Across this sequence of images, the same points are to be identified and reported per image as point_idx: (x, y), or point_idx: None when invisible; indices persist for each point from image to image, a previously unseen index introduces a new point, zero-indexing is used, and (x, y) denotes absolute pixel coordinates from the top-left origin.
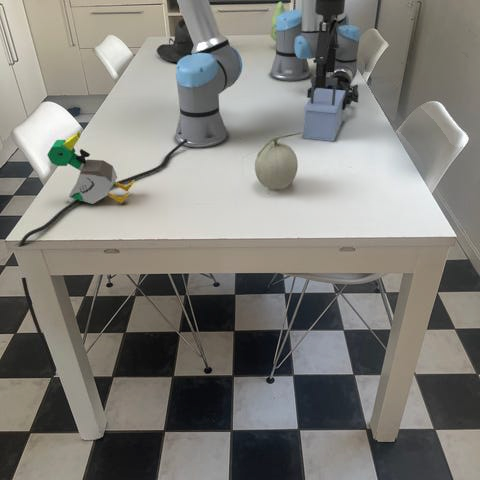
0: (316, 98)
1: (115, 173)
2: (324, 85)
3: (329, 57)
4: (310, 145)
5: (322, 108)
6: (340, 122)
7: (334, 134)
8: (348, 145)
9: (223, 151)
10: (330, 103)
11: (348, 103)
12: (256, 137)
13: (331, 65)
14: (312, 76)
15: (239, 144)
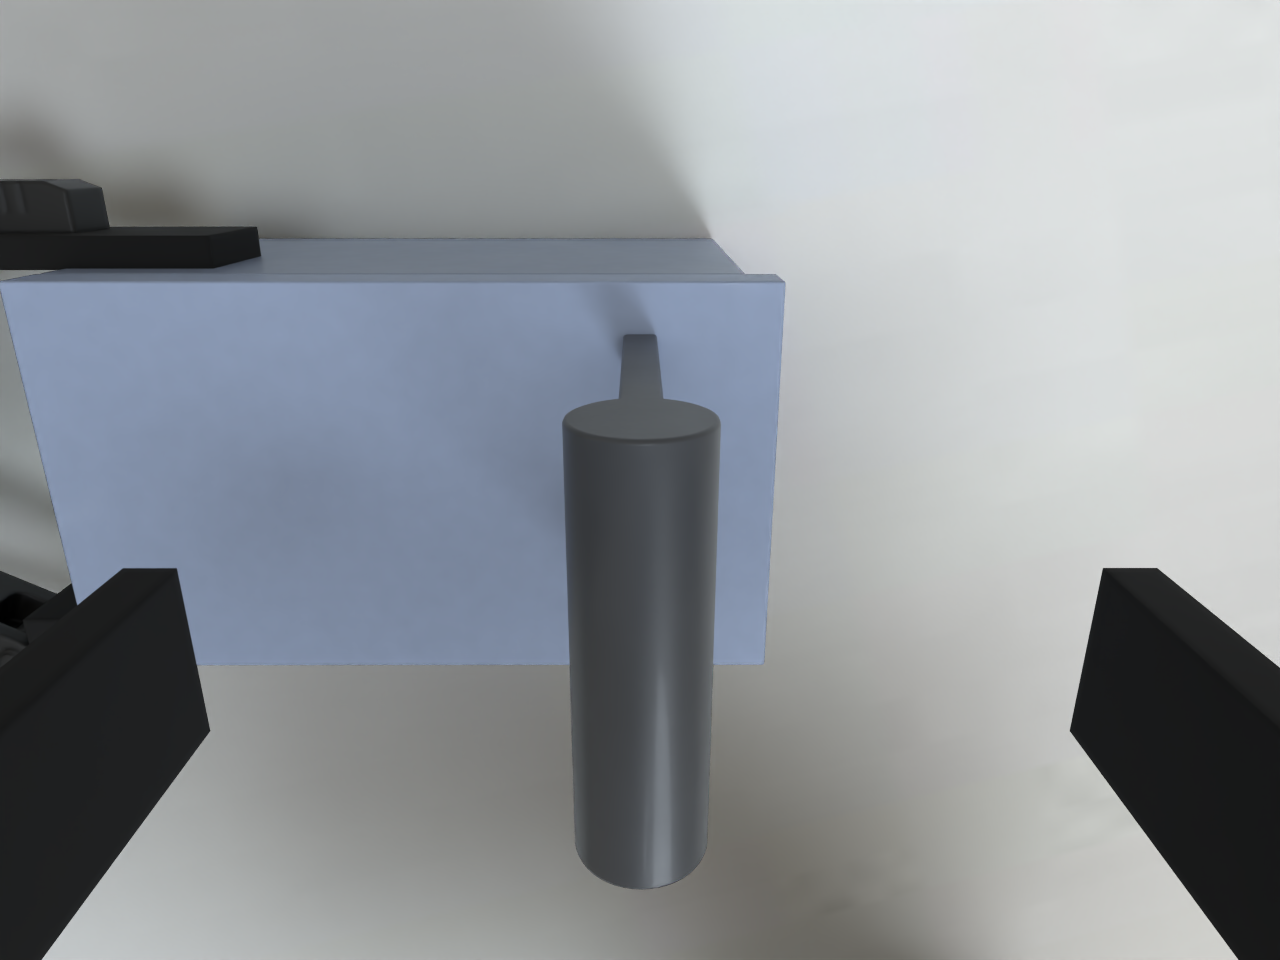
0: (465, 593)
1: None
2: (1182, 599)
3: (2, 899)
4: (842, 422)
5: (774, 460)
6: (344, 243)
7: (709, 244)
8: (767, 77)
9: (1055, 944)
10: (590, 395)
11: (97, 203)
12: (783, 826)
13: (108, 706)
14: (663, 877)
15: (927, 891)
